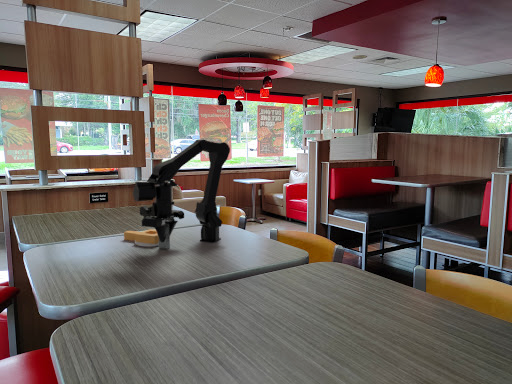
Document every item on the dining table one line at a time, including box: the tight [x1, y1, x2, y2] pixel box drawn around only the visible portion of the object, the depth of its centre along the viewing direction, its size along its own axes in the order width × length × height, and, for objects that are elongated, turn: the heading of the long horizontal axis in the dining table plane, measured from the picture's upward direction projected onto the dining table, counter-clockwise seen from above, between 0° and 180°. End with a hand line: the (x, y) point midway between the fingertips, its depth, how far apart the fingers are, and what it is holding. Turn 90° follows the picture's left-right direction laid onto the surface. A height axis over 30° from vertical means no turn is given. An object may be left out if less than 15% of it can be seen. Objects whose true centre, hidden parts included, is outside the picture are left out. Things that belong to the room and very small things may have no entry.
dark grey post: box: [158, 223, 171, 250], centre depth 136 cm, size 3×2×9 cm
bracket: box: [123, 228, 159, 248], centre depth 146 cm, size 19×13×4 cm
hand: (164, 241), depth 137 cm, fingers closed on dark grey post, 2 cm apart
